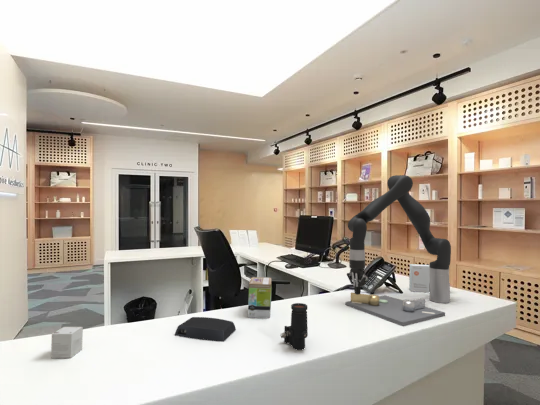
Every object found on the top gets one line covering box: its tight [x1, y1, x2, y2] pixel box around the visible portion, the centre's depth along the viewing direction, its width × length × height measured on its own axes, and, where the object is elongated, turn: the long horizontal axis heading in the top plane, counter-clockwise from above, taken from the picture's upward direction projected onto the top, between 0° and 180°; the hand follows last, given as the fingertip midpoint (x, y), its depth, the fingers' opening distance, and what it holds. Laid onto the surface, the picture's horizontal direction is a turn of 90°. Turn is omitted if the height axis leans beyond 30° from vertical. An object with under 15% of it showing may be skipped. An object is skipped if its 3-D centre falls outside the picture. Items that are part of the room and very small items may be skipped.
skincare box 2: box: [408, 263, 430, 293], centre depth 181 cm, size 21×6×16 cm, turn 81°
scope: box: [280, 302, 309, 351], centre depth 102 cm, size 8×14×10 cm
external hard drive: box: [174, 316, 237, 343], centre depth 112 cm, size 13×19×4 cm
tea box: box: [247, 276, 272, 319], centre depth 137 cm, size 15×10×15 cm
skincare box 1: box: [50, 326, 84, 359], centre depth 94 cm, size 6×6×7 cm
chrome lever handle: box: [402, 297, 426, 312], centre depth 140 cm, size 14×5×4 cm, turn 119°
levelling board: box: [344, 294, 446, 327], centre depth 144 cm, size 29×33×2 cm
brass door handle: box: [350, 292, 380, 306], centre depth 149 cm, size 14×5×4 cm, turn 61°
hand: (357, 294), depth 149 cm, fingers closed
